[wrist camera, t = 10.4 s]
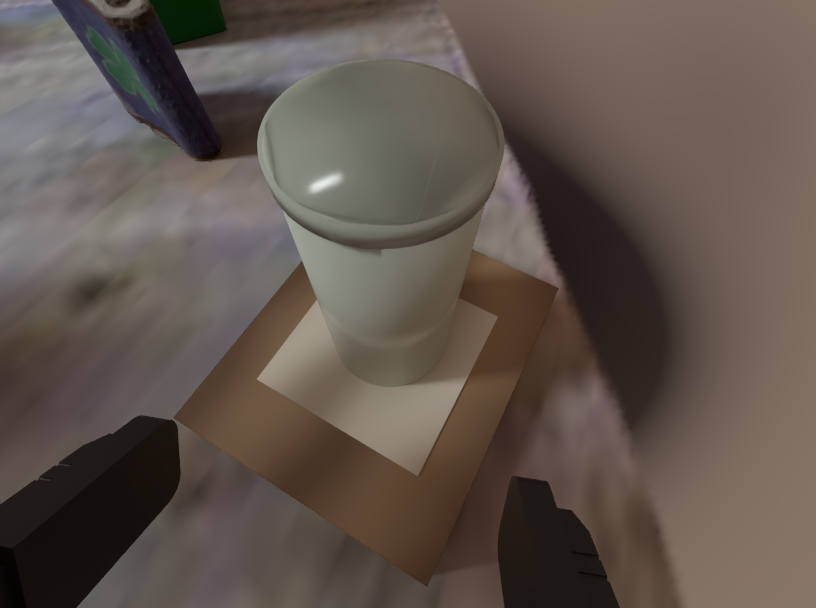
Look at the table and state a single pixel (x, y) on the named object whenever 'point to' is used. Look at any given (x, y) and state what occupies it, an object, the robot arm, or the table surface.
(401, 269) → the canister
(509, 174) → the table surface
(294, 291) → the pedestal
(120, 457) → the robot arm
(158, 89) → the flask
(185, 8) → the milk carton
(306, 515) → the table surface
